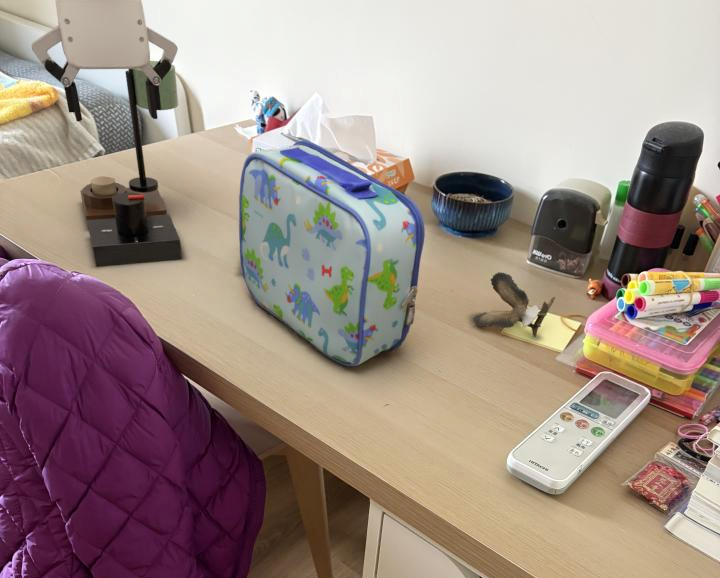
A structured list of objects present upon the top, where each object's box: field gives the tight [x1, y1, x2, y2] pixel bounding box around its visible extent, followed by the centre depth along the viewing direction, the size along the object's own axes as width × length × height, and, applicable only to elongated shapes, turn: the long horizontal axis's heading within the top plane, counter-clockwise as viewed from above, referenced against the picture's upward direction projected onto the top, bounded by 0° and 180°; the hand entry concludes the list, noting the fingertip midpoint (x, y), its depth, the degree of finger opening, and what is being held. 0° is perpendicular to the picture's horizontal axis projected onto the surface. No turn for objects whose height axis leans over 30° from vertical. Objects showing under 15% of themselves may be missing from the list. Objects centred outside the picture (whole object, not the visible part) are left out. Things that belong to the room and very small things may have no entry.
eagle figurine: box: [473, 271, 556, 338], centre depth 95 cm, size 8×7×9 cm
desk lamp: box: [124, 60, 179, 193], centre depth 108 cm, size 9×6×17 cm
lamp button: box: [90, 175, 117, 195], centre depth 111 cm, size 4×4×2 cm
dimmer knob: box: [112, 193, 148, 236], centre depth 102 cm, size 4×4×5 cm
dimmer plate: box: [86, 213, 183, 267], centre depth 105 cm, size 12×9×3 cm
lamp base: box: [79, 182, 168, 231], centre depth 113 cm, size 12×10×4 cm
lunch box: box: [238, 140, 426, 367], centre depth 87 cm, size 26×11×21 cm, turn 40°
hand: (116, 116), depth 94 cm, fingers open, 9 cm apart
